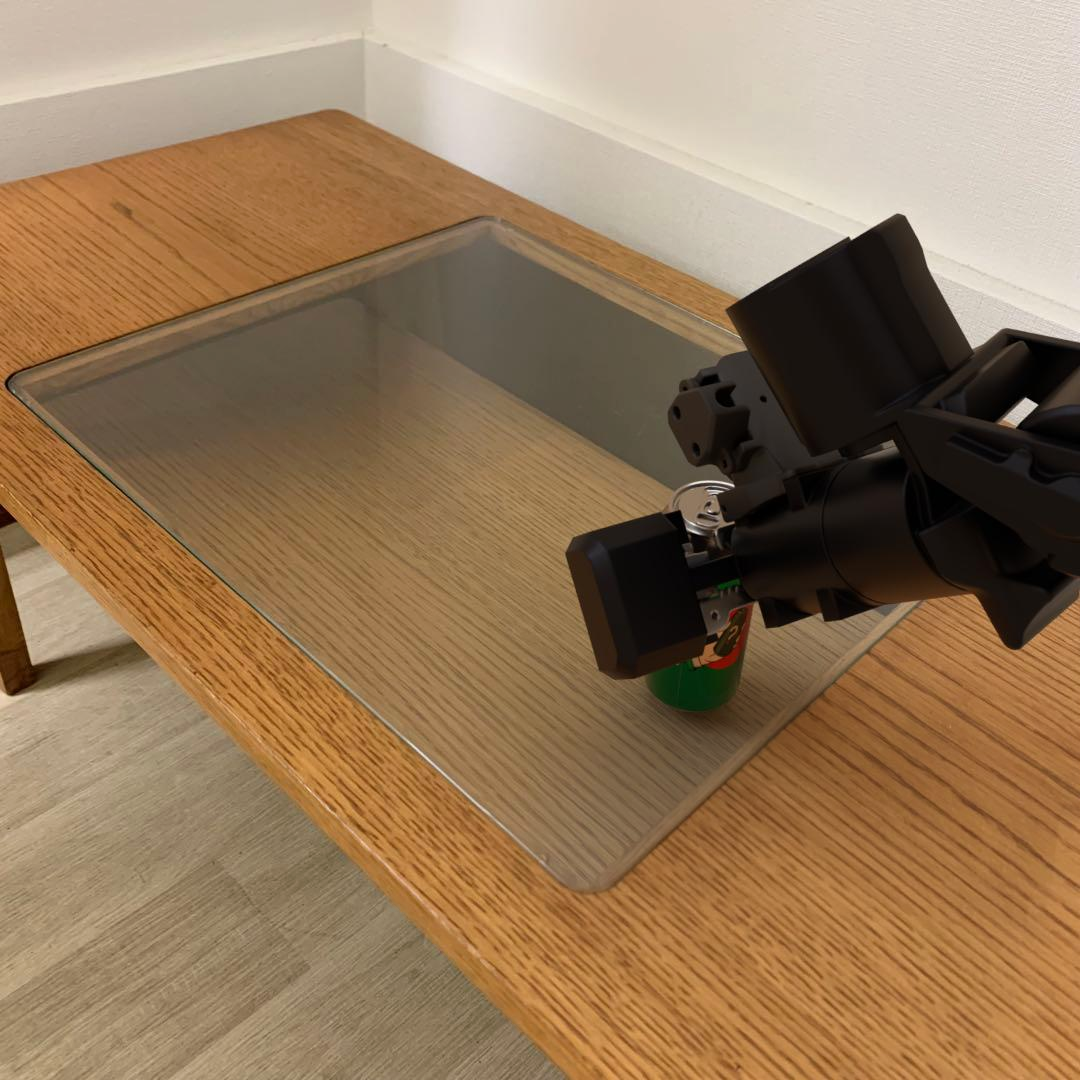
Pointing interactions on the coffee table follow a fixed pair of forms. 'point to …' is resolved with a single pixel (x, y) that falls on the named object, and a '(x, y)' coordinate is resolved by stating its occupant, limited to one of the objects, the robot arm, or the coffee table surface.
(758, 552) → the robot arm
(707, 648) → the soda can
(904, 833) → the coffee table surface
